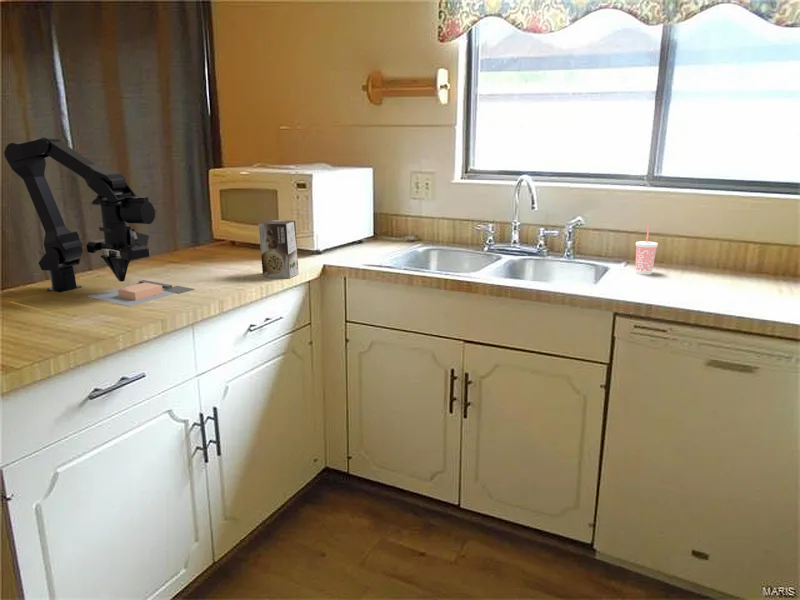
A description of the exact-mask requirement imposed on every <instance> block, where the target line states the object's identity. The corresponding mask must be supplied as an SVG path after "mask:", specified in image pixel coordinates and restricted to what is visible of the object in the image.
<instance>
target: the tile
mask: <svg viewBox="0 0 800 600" xmlns="http://www.w3.org/2000/svg"><path fill="white" fill-rule="evenodd" d="M136 284H137V285H134V284H131V285H132V286H130V285H127V286H128V287H126V286H123V287H124V288H121V287H119V288H120V289H118V295H119V297H123V298H128V299H132V300H139V299H143V298H146V297H150V296H154V295H158V294H161V293H163V289H162V286H161V285H156V284H150V283H141V284H138V283H136Z"/></svg>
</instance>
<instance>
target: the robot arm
mask: <svg viewBox="0 0 800 600" xmlns="http://www.w3.org/2000/svg"><path fill="white" fill-rule="evenodd" d="M3 153H4V154H3V155H4V158H5V160H6V162H7V163H8V165H9V167H10V168H11V170H12V171H13V172H14V173H15V174H16V175H17V176H18V177H20V179H22V181H23V182H24V184H25V188H26V190H27V191H28V195H29V196H30V199H31V201H32V204H33V206H34V208H35V212H36V213H37V215H38V218H39V220H40V223H41V225H42V227H43V230H44V239H43V240H44V241H43V247H44V250H45V253H44V255H43V256H42V257H41V258H40V260H39V261H38V265H39V267H40V270H41V271H49V276H50V282H51V286H50V287H46V291H47V292H48V291H49V292H56V293H64V292H67V291H72V290H77V289H81V288H83V286H82V285H79V284H77V281H76V275H75V270H74V269H75V268H74V266H76V265H77V266H78V265H80V263H81V257H82V254H83V252H84V250H83V246H84V244H83V243H82V241H81V239H80V235H79V233H78V232H77V231H71V230H70V229H68V228H67V226H66V225H65V222H64V220H63V218H62V215H61V212H60V210H59V208H58V205H57V203H56V201H55V198H54V195H53V192H52V190H51V188H50V186H49V183H48V181H47V178H46V175H45V173H46V165H47V161H46V159H47V158H50V159H51V158H52V159H53V160H55V162H57V163H59V164H60V165H61V166H64V167H65V168H67V169H68V170H70V171H71V172H72V173H74V174H76V175H78V176H79V177H81V178H82V180H84V181H85V183H86V185H87V187H88V188H89V189H91V191H93V193H95V195H97V196H96V197H95V199H94V200H93V199H92V201H91V204H92V205H94V206H98V205H99V208H100V216H101V225H102V226H98V229H99V232H103V238H102V239H95V240H91V241H90V240H89V241H88V243H87V244H86V251H87V253H91V254H96V252H97V251H102V255H100V258H101V259H103V261H104V262H105V263H106V265H107V266H108V267H109V268H110V270H111V271H112V273H113V274H114V276H115V277H116V279H117V280H118V282H121V283H122V282H124V281H126V275H127V271H128V267H129V264H130V262H131V261H134V260H139V259H144V258H148V257H151V251H150V248H149V247H148V244H149V240H150V235H149V234H145V233H142V232H137V231H136V229H134V228H133V227H132V226H131V225H128V224H136V225H137V224H139V225H141V224H142V225H150V224H153V222H154V220H155V219H156V218H155V217H156V209H155V208H154V205H153V203H151V202H150V201H149V197H148V196H139V197H138V196H137V195H136V193H135V192H134V190H133V189H132V187H130V185H129V183H127V181H126V177H125V176H124V174H122V173H120V172H118V171H116V170H114V169H111V168H109V167H104V166H102V165H98V164H96V163H94V162H93V161H91V160H90V159H88V158H87V157H85V156H84V155H82V154H80V153H79V152H77V151H76V150H74V149H73V148H71V147H70V146H68V145H66V144H65V143H63V142H62V140H60V139H59V138H58V137H41V138H38V139H35V140H30V141H27V142H10V143H8V144H7V145H6V147H5V150H4V151H3Z"/></svg>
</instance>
